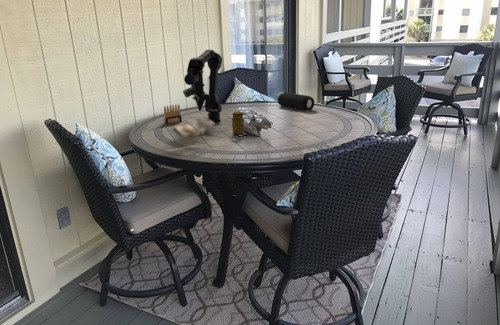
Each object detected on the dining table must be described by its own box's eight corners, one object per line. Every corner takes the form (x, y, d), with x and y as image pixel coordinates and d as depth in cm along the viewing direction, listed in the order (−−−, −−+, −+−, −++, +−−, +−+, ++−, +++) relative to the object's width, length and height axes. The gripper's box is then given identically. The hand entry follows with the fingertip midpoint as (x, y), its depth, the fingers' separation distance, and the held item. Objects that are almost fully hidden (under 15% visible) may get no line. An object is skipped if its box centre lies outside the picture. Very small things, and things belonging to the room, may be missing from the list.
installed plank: (189, 127, 232) (188, 124, 231) (200, 135, 215) (200, 132, 214) (173, 129, 228) (173, 126, 228) (184, 137, 211) (184, 134, 211)
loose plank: (202, 116, 234) (201, 114, 233) (215, 124, 217) (214, 121, 216) (190, 126, 232) (189, 124, 231) (202, 134, 215) (200, 132, 214)
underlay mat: (206, 125, 237) (206, 124, 237) (220, 134, 219) (220, 132, 218) (168, 131, 228) (168, 129, 228) (179, 140, 209) (179, 138, 209)
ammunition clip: (165, 126, 239) (163, 106, 235) (164, 125, 241) (162, 105, 237) (182, 123, 245) (180, 103, 241) (180, 122, 246) (179, 103, 242)
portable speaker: (315, 110, 270) (315, 95, 266) (305, 112, 263) (305, 97, 260) (286, 105, 287) (286, 91, 284) (276, 107, 281) (276, 93, 278)
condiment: (241, 132, 222) (240, 110, 218) (248, 135, 215) (247, 113, 211) (229, 134, 219) (228, 112, 215) (235, 137, 212) (234, 115, 208)
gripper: (178, 81, 226) (181, 109, 231) (188, 85, 210) (191, 115, 215) (197, 79, 230) (199, 106, 236) (209, 83, 215) (210, 112, 220)
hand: (199, 110), depth 226 cm, fingers closed
